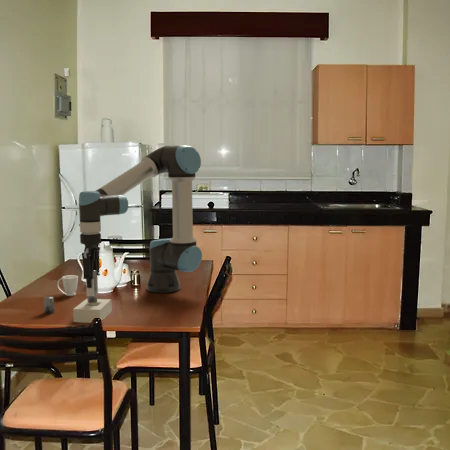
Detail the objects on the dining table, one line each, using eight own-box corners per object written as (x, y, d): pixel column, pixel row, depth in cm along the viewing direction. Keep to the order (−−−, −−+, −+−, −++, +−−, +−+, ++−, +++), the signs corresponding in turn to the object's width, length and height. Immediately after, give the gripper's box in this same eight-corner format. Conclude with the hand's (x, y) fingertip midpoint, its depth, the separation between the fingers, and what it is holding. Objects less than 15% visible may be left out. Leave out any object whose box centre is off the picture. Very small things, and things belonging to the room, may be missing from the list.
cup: (73, 297, 233) (72, 279, 232) (53, 295, 235) (52, 277, 234) (82, 293, 239) (81, 275, 238) (62, 291, 242) (61, 274, 241)
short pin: (55, 311, 212) (54, 296, 211) (51, 314, 208) (51, 298, 208) (46, 311, 212) (46, 296, 212) (42, 313, 209) (42, 298, 208)
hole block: (111, 311, 211) (111, 299, 211) (100, 322, 197) (99, 309, 197) (86, 311, 212) (86, 298, 211) (73, 322, 198) (73, 309, 198)
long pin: (98, 300, 206) (97, 269, 204) (95, 302, 202) (94, 271, 200) (89, 300, 206) (88, 269, 204) (86, 302, 202) (85, 271, 201)
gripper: (88, 229, 209) (90, 288, 212) (72, 236, 193) (74, 299, 196) (107, 229, 208) (108, 289, 211) (92, 236, 192) (94, 300, 195)
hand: (92, 294), depth 204 cm, fingers closed on long pin, 3 cm apart
